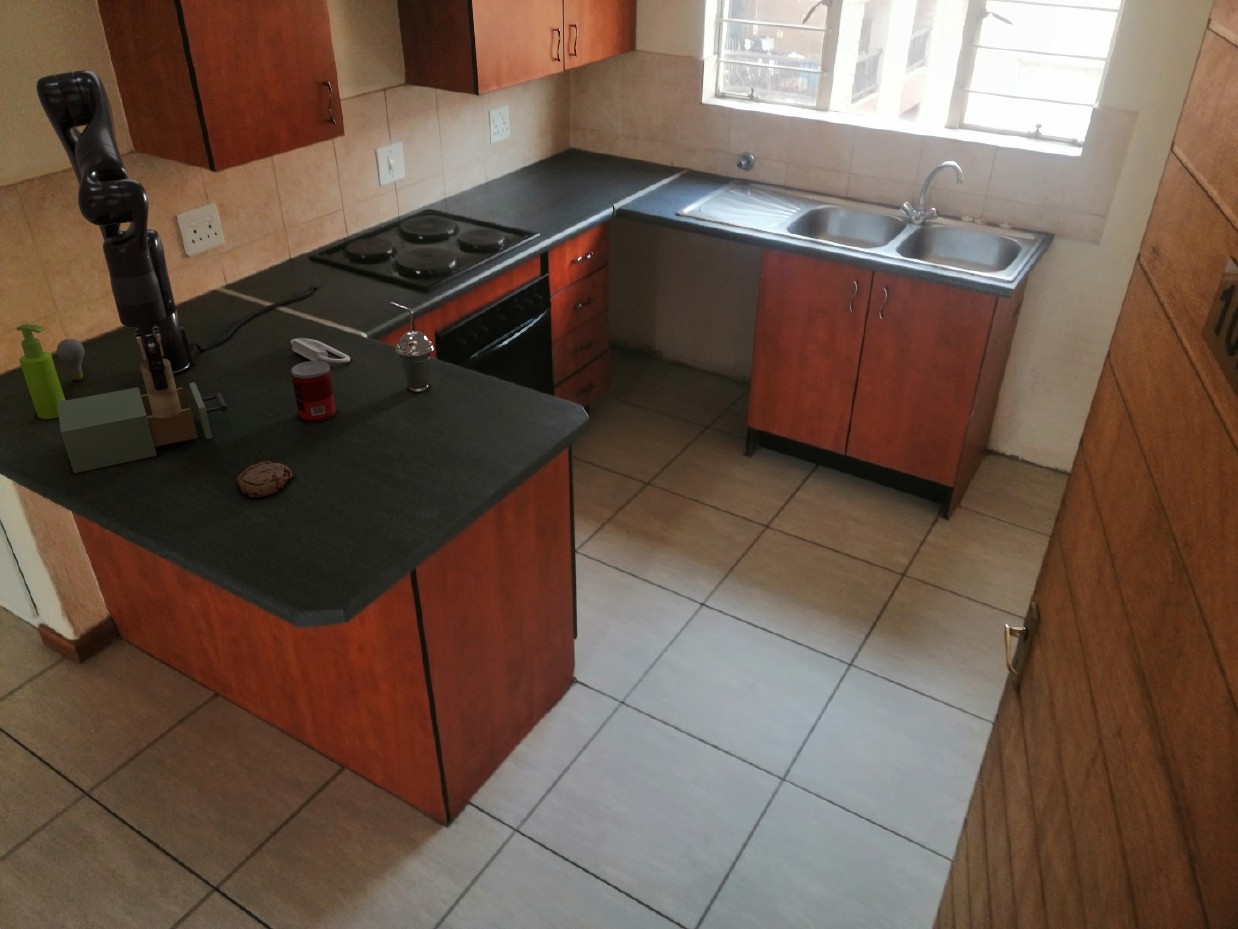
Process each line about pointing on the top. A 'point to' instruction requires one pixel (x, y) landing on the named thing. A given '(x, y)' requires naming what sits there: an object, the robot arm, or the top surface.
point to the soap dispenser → (40, 374)
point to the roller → (161, 392)
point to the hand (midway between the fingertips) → (159, 383)
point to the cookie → (263, 479)
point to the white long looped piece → (316, 350)
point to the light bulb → (72, 356)
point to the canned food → (313, 390)
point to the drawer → (182, 418)
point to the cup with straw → (415, 355)
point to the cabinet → (105, 429)
